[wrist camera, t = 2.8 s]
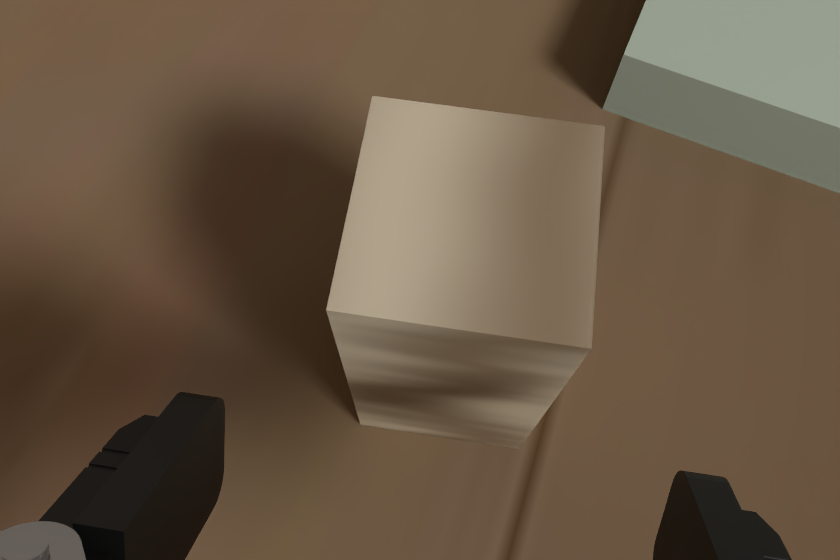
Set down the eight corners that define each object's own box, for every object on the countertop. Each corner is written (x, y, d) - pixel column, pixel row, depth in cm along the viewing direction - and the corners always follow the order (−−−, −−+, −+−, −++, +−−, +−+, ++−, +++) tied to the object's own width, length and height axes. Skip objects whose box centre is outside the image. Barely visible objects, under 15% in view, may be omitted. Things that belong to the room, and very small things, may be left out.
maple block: (360, 424, 23) (326, 310, 14) (387, 280, 25) (372, 96, 16) (518, 449, 23) (591, 348, 14) (533, 301, 25) (604, 126, 16)
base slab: (599, 116, 28) (623, 54, 25) (677, -74, 32) (707, -147, 29) (888, 218, 27) (954, 166, 23) (932, 5, 31) (993, -64, 27)
